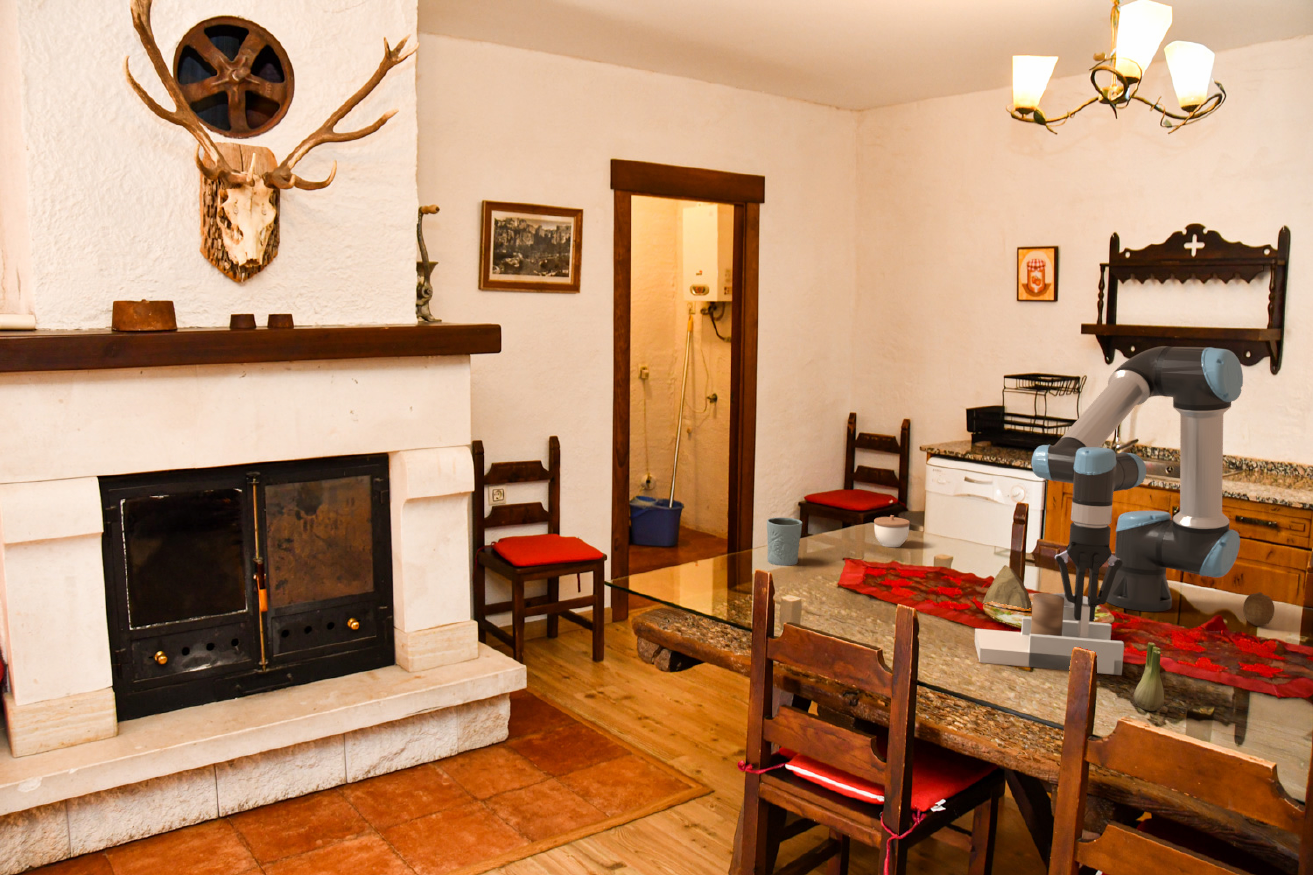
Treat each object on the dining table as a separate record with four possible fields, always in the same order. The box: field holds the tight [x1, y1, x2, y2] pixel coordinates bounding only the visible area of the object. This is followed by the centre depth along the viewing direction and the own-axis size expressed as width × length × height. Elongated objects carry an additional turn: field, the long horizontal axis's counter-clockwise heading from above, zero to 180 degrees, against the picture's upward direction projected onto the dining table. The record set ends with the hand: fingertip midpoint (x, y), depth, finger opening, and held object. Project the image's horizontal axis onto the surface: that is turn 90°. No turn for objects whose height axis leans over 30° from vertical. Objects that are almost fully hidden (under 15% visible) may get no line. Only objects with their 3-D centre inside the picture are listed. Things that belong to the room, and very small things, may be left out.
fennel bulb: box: [1133, 642, 1165, 712], centre depth 177 cm, size 6×5×12 cm
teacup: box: [1053, 592, 1094, 622], centre depth 220 cm, size 14×11×8 cm
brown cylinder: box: [1031, 592, 1064, 636], centre depth 202 cm, size 6×6×10 cm
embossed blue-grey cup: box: [766, 516, 803, 567], centre depth 278 cm, size 10×10×12 cm
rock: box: [982, 565, 1032, 609], centre depth 237 cm, size 11×9×10 cm
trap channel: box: [974, 616, 1125, 676], centre depth 202 cm, size 27×13×6 cm, turn 76°
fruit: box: [1242, 592, 1275, 627], centre depth 225 cm, size 6×6×8 cm
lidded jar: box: [873, 514, 911, 548], centre depth 300 cm, size 11×11×9 cm
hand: (1082, 635), depth 201 cm, fingers closed
